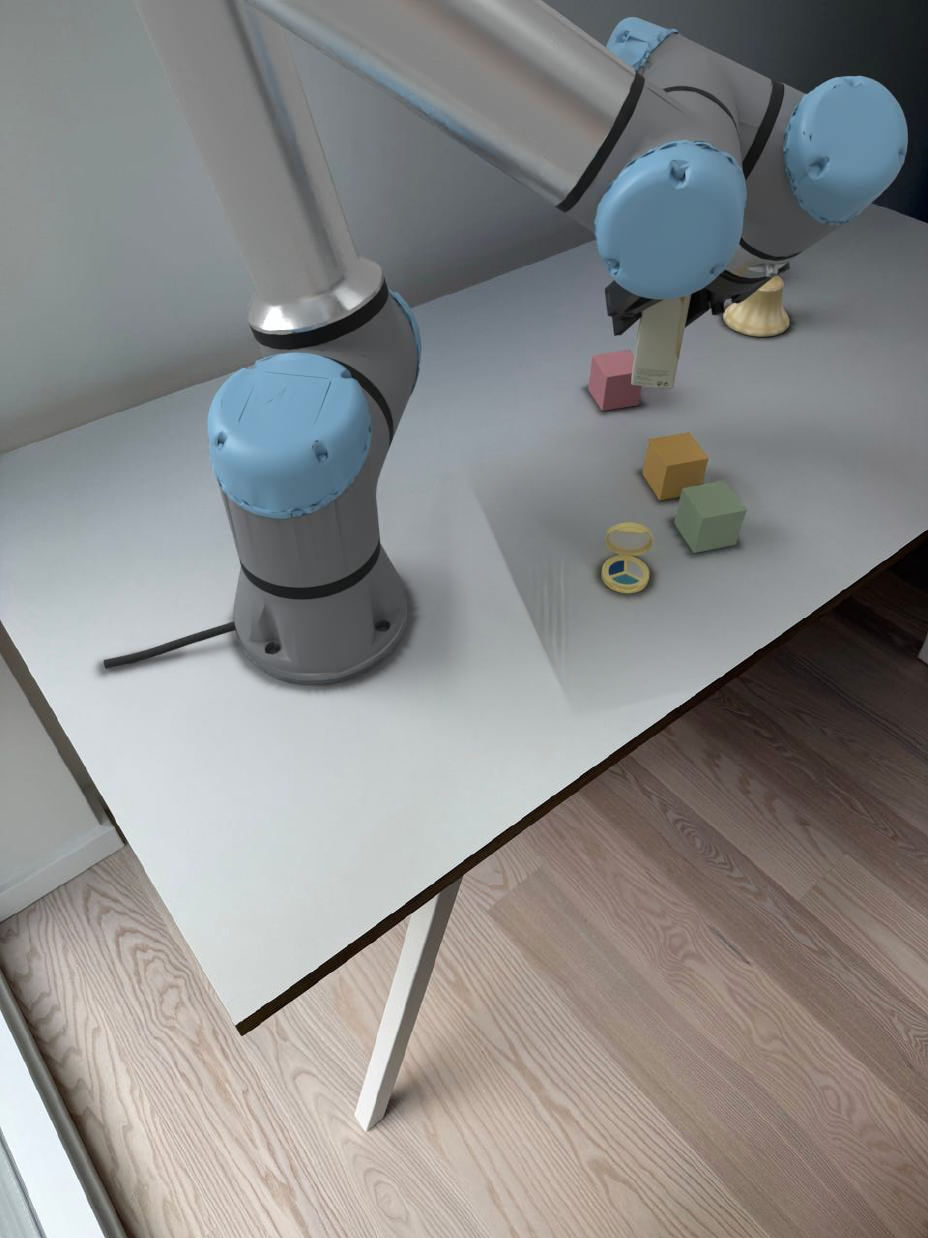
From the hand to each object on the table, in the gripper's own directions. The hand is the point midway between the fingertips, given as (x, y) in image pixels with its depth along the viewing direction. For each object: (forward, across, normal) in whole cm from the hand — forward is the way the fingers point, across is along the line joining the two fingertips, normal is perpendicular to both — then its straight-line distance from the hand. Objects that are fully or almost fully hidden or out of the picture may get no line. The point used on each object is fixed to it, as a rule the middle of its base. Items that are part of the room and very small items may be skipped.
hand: (647, 318), depth 91 cm
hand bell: (+21, +22, +4) cm, 31 cm away
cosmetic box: (0, 0, -6) cm, 6 cm away
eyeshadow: (-8, -8, -25) cm, 28 cm away
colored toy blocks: (+3, 0, -14) cm, 14 cm away
